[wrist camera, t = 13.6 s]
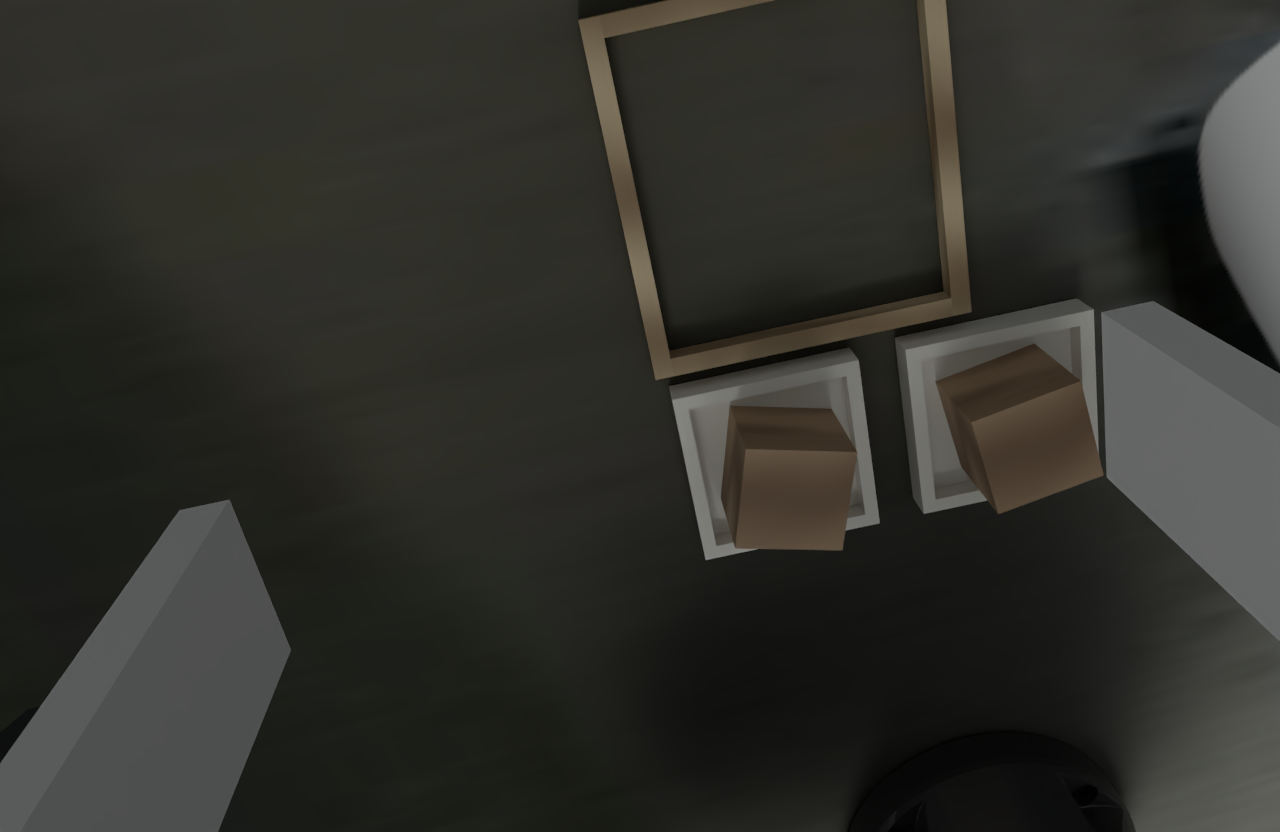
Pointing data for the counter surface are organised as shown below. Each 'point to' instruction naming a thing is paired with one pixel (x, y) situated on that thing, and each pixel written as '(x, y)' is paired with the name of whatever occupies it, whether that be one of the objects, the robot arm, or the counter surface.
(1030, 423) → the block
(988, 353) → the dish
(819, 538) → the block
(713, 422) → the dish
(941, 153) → the oak frame
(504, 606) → the counter surface
